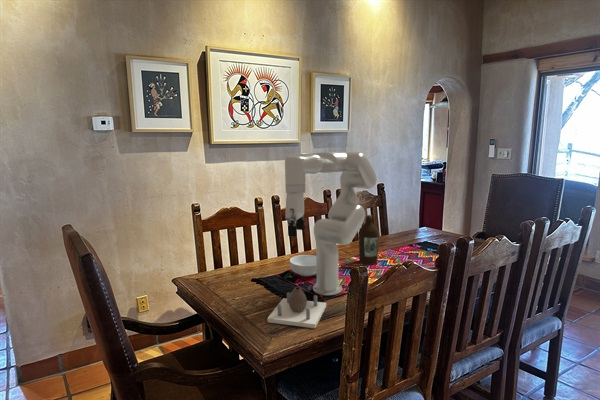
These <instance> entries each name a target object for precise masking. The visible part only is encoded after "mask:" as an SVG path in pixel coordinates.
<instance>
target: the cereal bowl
mask: <svg viewBox="0 0 600 400" xmlns="http://www.w3.org/2000/svg"><path fill="white" fill-rule="evenodd" d="M289 268H290V269H291V270H292V272H293V273H295V274H297V275H299V276H301V277H312V276H314V275H317V274H316V255H314V254H313V255H312V254H300V255H295V256H292V257H290V259H289Z"/></svg>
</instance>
